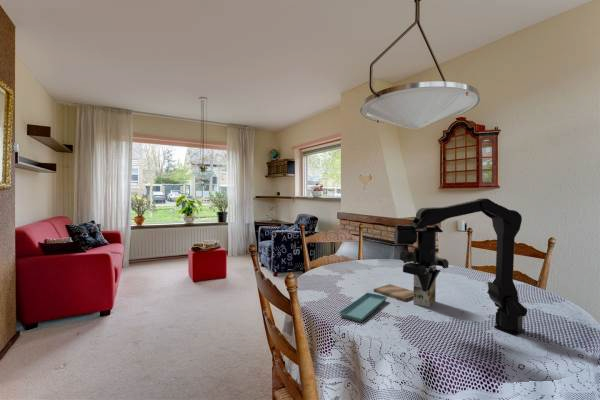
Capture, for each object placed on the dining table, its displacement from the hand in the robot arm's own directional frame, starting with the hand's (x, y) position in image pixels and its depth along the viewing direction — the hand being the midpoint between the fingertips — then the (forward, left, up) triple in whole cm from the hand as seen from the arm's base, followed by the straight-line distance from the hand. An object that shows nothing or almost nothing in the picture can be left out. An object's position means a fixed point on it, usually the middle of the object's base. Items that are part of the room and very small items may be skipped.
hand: (426, 290), depth 100 cm
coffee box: (+15, -18, -12) cm, 26 cm away
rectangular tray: (+22, +8, -13) cm, 27 cm away
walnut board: (+29, -16, -12) cm, 35 cm away
